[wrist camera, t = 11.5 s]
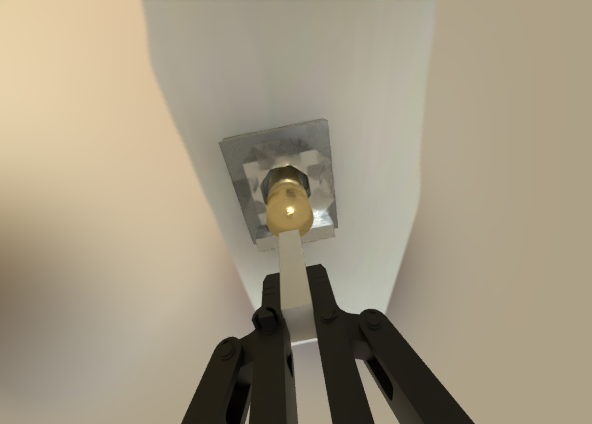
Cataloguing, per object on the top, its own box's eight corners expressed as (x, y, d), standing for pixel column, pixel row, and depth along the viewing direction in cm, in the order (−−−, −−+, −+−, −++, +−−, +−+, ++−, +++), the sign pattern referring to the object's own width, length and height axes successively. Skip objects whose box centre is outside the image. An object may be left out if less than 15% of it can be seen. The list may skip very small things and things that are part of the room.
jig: (223, 138, 25) (213, 146, 20) (322, 118, 25) (332, 121, 20) (255, 234, 31) (252, 254, 27) (333, 218, 31) (342, 236, 27)
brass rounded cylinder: (261, 182, 28) (256, 219, 19) (286, 160, 27) (292, 188, 18) (284, 204, 29) (288, 247, 21) (308, 184, 28) (323, 220, 20)
